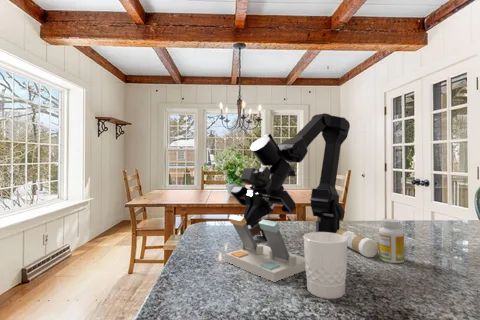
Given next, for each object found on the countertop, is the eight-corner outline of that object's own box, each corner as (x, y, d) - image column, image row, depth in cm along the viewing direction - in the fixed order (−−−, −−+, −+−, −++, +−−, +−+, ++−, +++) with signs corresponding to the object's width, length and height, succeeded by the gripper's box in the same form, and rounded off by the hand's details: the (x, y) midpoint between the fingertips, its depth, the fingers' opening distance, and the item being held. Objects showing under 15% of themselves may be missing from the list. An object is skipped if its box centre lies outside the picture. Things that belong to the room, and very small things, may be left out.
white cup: (314, 278, 58) (314, 230, 58) (354, 289, 53) (353, 235, 53) (296, 292, 52) (295, 237, 52) (339, 305, 47) (338, 245, 47)
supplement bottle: (401, 257, 70) (401, 218, 70) (406, 265, 65) (405, 223, 65) (378, 255, 72) (377, 217, 72) (380, 262, 67) (380, 221, 67)
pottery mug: (278, 244, 85) (267, 222, 82) (250, 258, 84) (238, 236, 82) (268, 225, 96) (259, 206, 94) (244, 238, 96) (233, 218, 94)
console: (260, 251, 76) (260, 237, 76) (311, 268, 63) (310, 251, 63) (224, 261, 68) (224, 245, 68) (274, 283, 56) (274, 264, 56)
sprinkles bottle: (351, 234, 84) (382, 247, 71) (342, 246, 83) (371, 261, 70) (341, 224, 83) (370, 235, 70) (331, 236, 83) (359, 250, 70)
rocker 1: (248, 246, 72) (232, 214, 69) (260, 249, 69) (244, 217, 65) (245, 249, 71) (228, 218, 68) (257, 254, 68) (240, 220, 64)
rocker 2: (277, 255, 64) (262, 219, 61) (292, 260, 61) (277, 222, 58) (274, 259, 63) (258, 223, 60) (289, 265, 60) (273, 226, 57)
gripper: (235, 157, 79) (202, 200, 71) (286, 155, 64) (252, 209, 57) (256, 183, 84) (227, 226, 77) (308, 187, 70) (279, 240, 62)
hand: (243, 225), depth 68 cm, fingers closed
